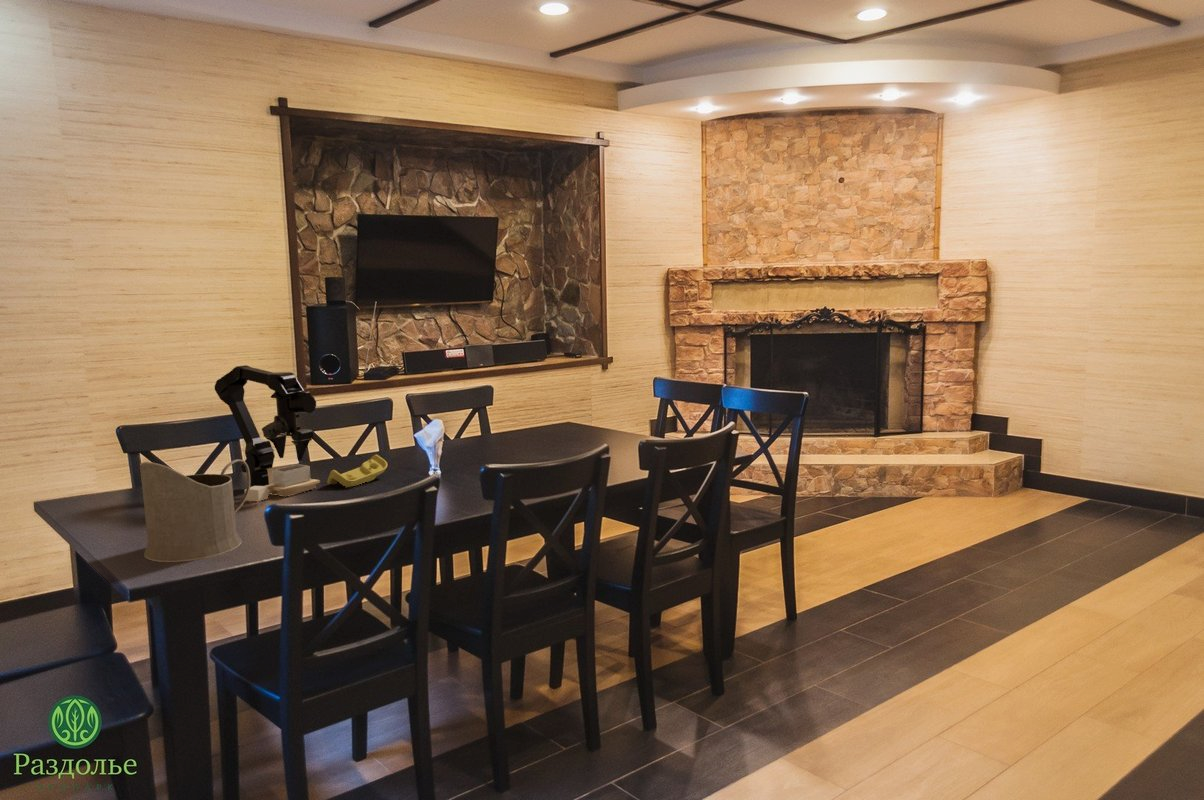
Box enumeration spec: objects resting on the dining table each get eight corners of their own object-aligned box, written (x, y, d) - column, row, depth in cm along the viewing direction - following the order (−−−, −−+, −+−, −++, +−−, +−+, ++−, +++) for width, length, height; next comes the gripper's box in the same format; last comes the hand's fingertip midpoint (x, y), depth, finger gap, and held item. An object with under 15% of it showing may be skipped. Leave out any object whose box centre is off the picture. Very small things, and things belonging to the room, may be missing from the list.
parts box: (245, 501, 284) (244, 489, 283) (255, 497, 288) (254, 485, 288) (259, 502, 282) (258, 490, 282) (269, 498, 287) (268, 486, 286)
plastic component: (350, 482, 295) (329, 467, 299) (345, 500, 298) (325, 485, 302) (393, 466, 312) (373, 451, 315) (389, 483, 315) (369, 469, 319)
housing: (299, 478, 299) (297, 464, 299) (310, 480, 296) (309, 465, 295) (273, 485, 291) (272, 470, 290) (285, 487, 288) (283, 472, 287)
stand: (264, 495, 291) (264, 486, 291) (300, 485, 302) (300, 477, 302) (284, 498, 285) (283, 489, 285) (320, 489, 297) (319, 480, 297)
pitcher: (124, 556, 231) (113, 460, 227) (224, 523, 259) (216, 437, 255) (187, 566, 221) (177, 466, 217) (284, 531, 249) (277, 442, 245)
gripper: (246, 413, 289) (251, 461, 291) (283, 417, 278) (288, 466, 281) (276, 408, 298) (280, 455, 300) (313, 412, 288) (317, 460, 290)
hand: (290, 459), depth 292 cm, fingers open, 9 cm apart
